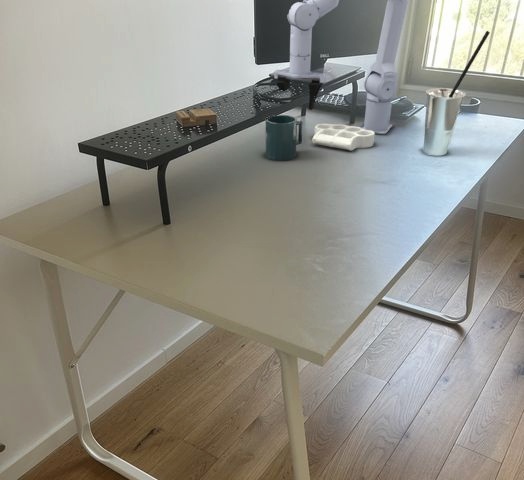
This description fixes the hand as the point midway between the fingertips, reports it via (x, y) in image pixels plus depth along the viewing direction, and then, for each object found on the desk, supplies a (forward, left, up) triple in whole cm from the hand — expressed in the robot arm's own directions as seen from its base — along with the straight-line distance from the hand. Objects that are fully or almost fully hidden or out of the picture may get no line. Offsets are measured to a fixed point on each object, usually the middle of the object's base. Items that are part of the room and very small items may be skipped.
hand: (298, 107), depth 159 cm
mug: (+15, +2, -9) cm, 17 cm away
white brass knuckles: (-1, +13, -9) cm, 16 cm away
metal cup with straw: (-3, +40, -9) cm, 41 cm away
